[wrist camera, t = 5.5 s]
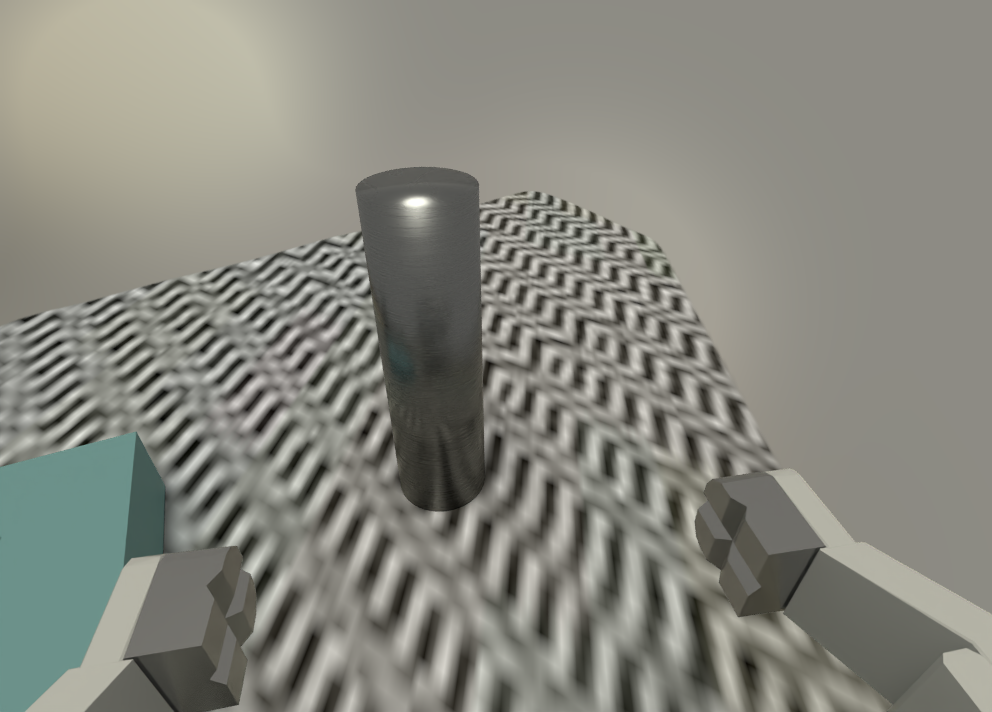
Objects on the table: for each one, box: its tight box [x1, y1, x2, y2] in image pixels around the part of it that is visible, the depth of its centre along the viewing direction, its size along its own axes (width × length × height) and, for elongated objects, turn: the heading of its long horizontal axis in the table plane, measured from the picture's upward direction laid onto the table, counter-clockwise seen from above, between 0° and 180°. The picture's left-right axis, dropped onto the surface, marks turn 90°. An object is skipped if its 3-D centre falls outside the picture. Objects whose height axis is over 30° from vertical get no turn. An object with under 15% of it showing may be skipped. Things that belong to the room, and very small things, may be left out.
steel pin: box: [356, 167, 485, 511], centre depth 22 cm, size 4×4×14 cm
